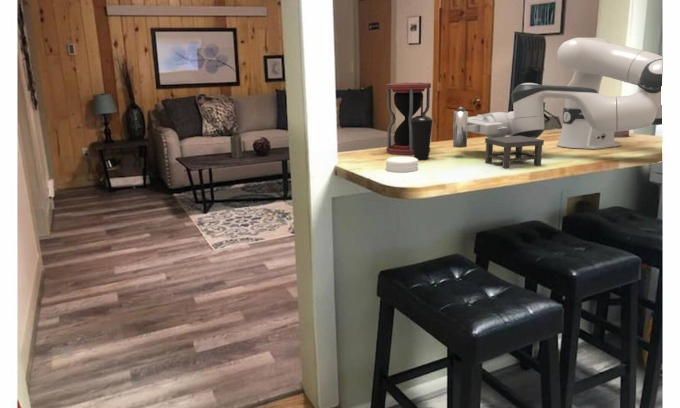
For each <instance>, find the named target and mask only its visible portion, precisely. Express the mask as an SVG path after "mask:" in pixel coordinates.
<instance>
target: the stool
mask: <svg viewBox="0 0 680 408" xmlns="http://www.w3.org/2000/svg"><path fill="white" fill-rule="evenodd" d="M484 139H485V140H484V141H485V142H484V143H485V163H486V164H492V163H493V159H494V160H499V161H502V169H505V170H507V169H511V162H519V161H520V162H521V161H530V160H531V161H532V160H533V166H535V167H541V166H542V153H543V146H544V141H545V140H544V139H539V138H530V137H525V136H505V137H494V138H488V137H484ZM493 146H497V147H502V148H503V152H496V153H493V151H494V150H493V149H494V147H493ZM523 147H534V152H533V153H534V154H531V153H527V152H523ZM512 148H515V151H512ZM513 155H514V157H512V156H513ZM511 157H512V158H511Z"/></svg>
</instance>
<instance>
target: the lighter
mask: <svg viewBox="0 0 680 408" xmlns="http://www.w3.org/2000/svg"><path fill="white" fill-rule="evenodd" d="M615 138H616V139H617V138H624V139H625V138H630V130H628V131H619V132H617V130H616V132H614V139H615Z"/></svg>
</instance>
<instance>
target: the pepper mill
mask: <svg viewBox="0 0 680 408" xmlns="http://www.w3.org/2000/svg"><path fill="white" fill-rule="evenodd" d="M468 113H469V111H468V110H467V111H466V109H465V107H463V106H459V107H458V108H457V109H456V110H454V111H453V124H454V129H453V132H452V133H453V134H452V135H453V137H452V143H453V145H452V147H453V148H467V147H468V131H462V126H467V123H468V117H469V114H468Z"/></svg>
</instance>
